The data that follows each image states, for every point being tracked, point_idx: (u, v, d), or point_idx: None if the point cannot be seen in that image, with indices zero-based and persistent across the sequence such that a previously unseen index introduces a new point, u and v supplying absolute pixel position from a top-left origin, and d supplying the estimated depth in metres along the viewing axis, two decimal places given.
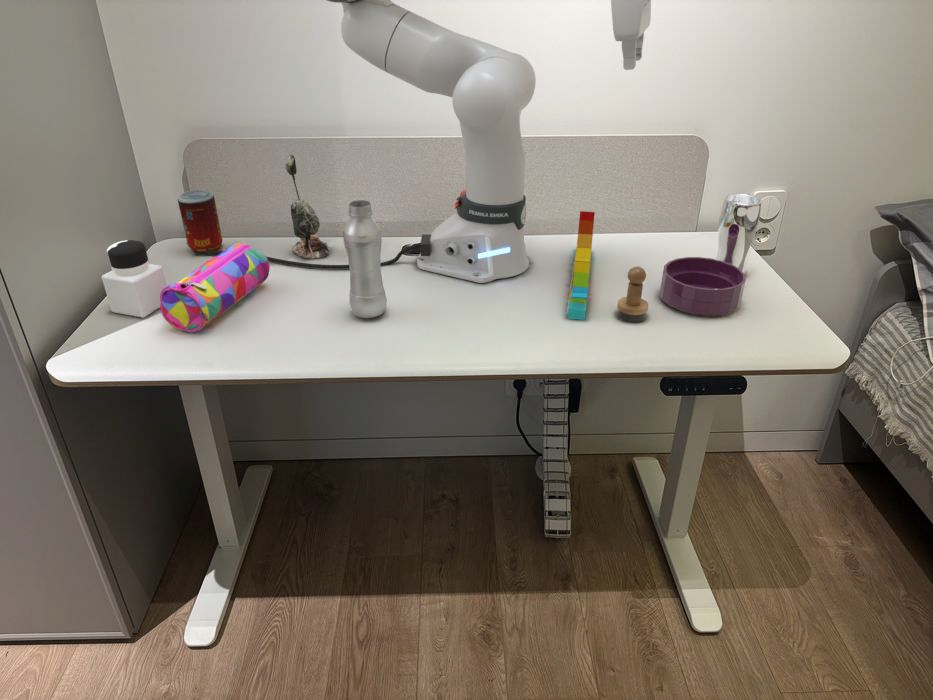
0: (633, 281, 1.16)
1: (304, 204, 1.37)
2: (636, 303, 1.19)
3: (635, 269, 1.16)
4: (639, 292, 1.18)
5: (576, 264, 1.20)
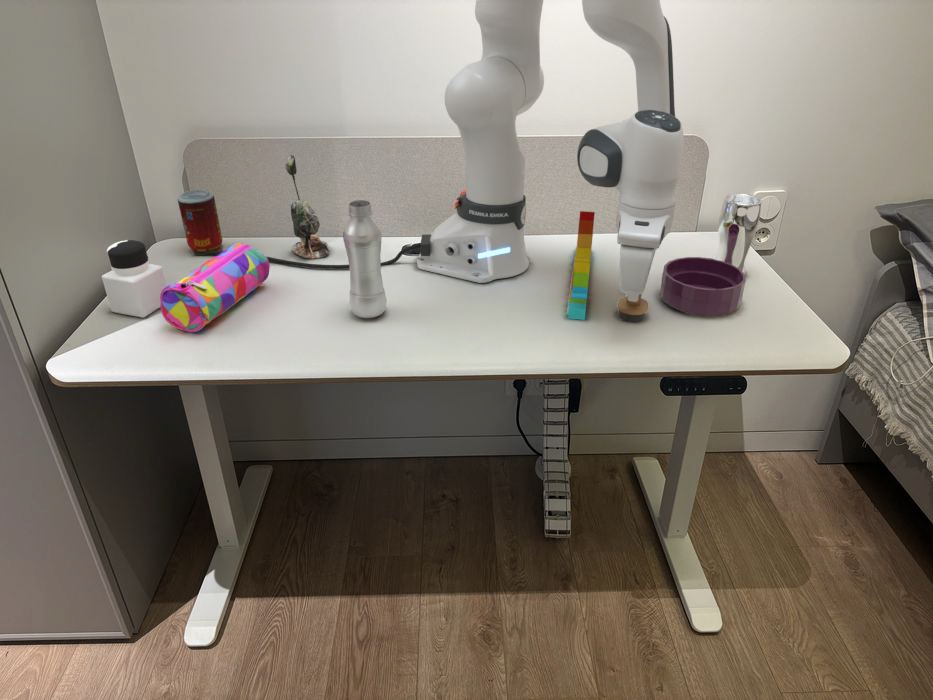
0: None
1: (304, 204, 1.37)
2: (636, 303, 1.19)
3: None
4: None
5: (576, 264, 1.20)
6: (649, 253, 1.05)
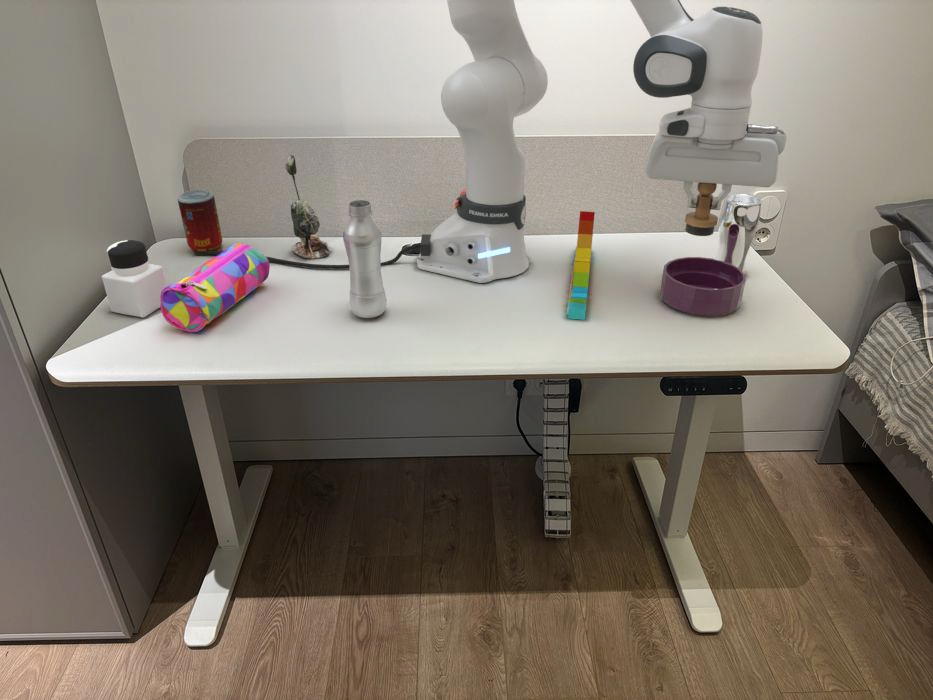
0: (698, 188, 1.15)
1: (304, 204, 1.37)
2: (696, 214, 1.16)
3: None
4: (699, 203, 1.15)
5: (576, 264, 1.20)
6: (657, 137, 1.11)
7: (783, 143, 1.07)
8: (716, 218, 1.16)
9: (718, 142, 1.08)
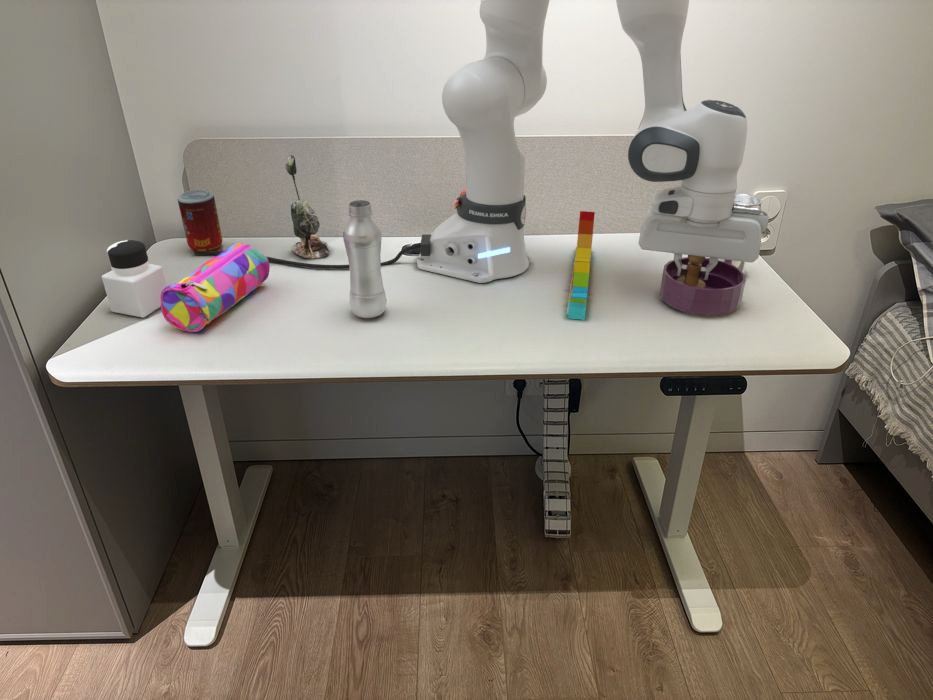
0: None
1: (304, 204, 1.37)
2: (685, 280, 1.25)
3: None
4: (688, 270, 1.23)
5: (576, 264, 1.20)
6: (649, 214, 1.20)
7: (766, 223, 1.16)
8: (704, 285, 1.24)
9: (705, 221, 1.16)
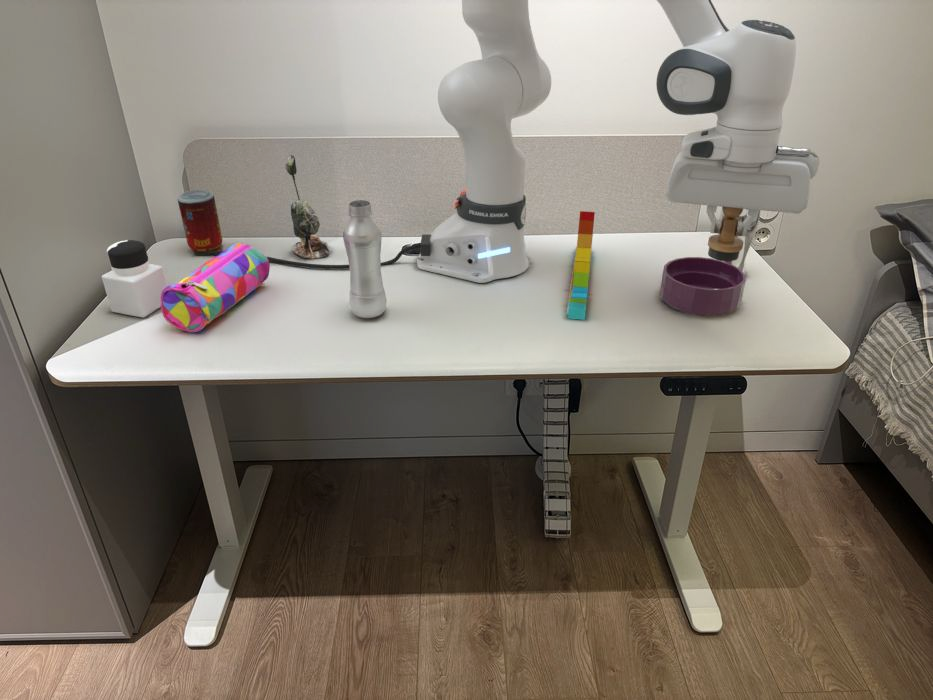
0: None
1: (304, 204, 1.37)
2: (720, 237, 1.09)
3: None
4: (723, 226, 1.07)
5: (576, 264, 1.20)
6: (679, 159, 1.03)
7: (816, 167, 1.00)
8: (741, 242, 1.08)
9: (745, 165, 1.00)
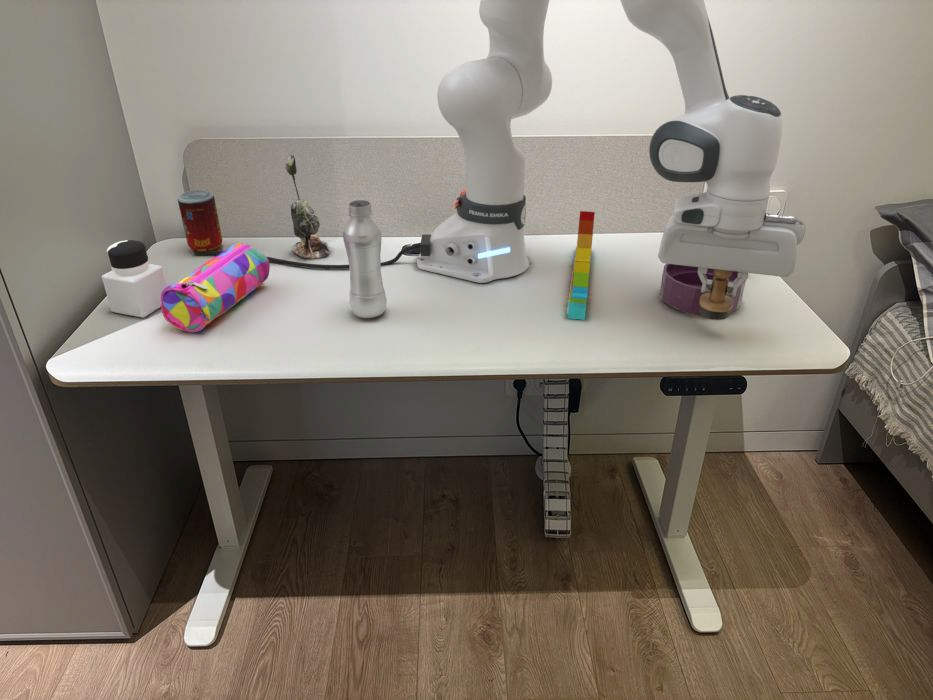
0: None
1: (304, 204, 1.37)
2: (710, 297, 1.12)
3: None
4: (714, 286, 1.11)
5: (576, 264, 1.20)
6: (671, 223, 1.07)
7: (802, 234, 1.03)
8: (732, 302, 1.12)
9: (734, 232, 1.04)
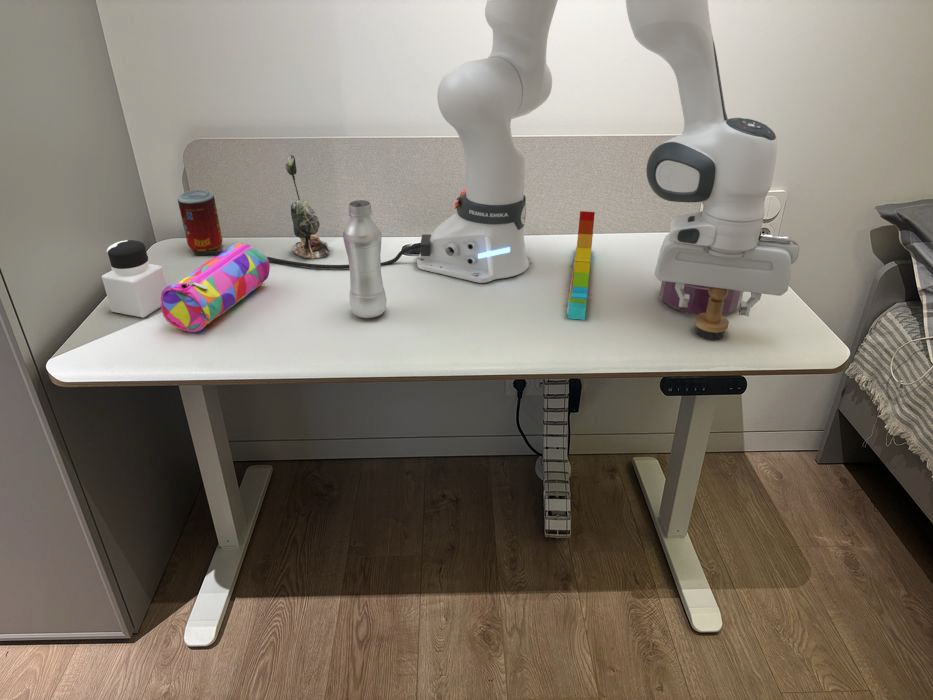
0: None
1: (304, 204, 1.37)
2: (706, 317, 1.14)
3: None
4: (709, 307, 1.13)
5: (576, 264, 1.20)
6: (667, 242, 1.09)
7: (796, 254, 1.05)
8: (727, 322, 1.14)
9: (729, 251, 1.05)
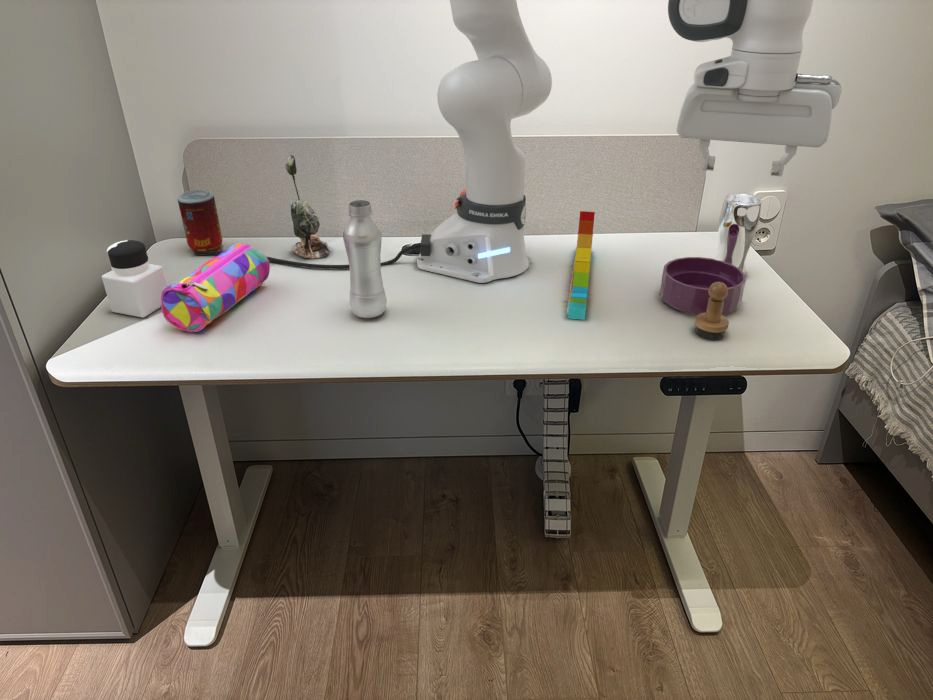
0: None
1: (304, 204, 1.37)
2: (706, 317, 1.14)
3: (715, 282, 1.12)
4: (709, 307, 1.13)
5: (576, 264, 1.20)
6: (691, 89, 0.97)
7: (838, 95, 0.93)
8: (727, 322, 1.14)
9: (762, 94, 0.94)
